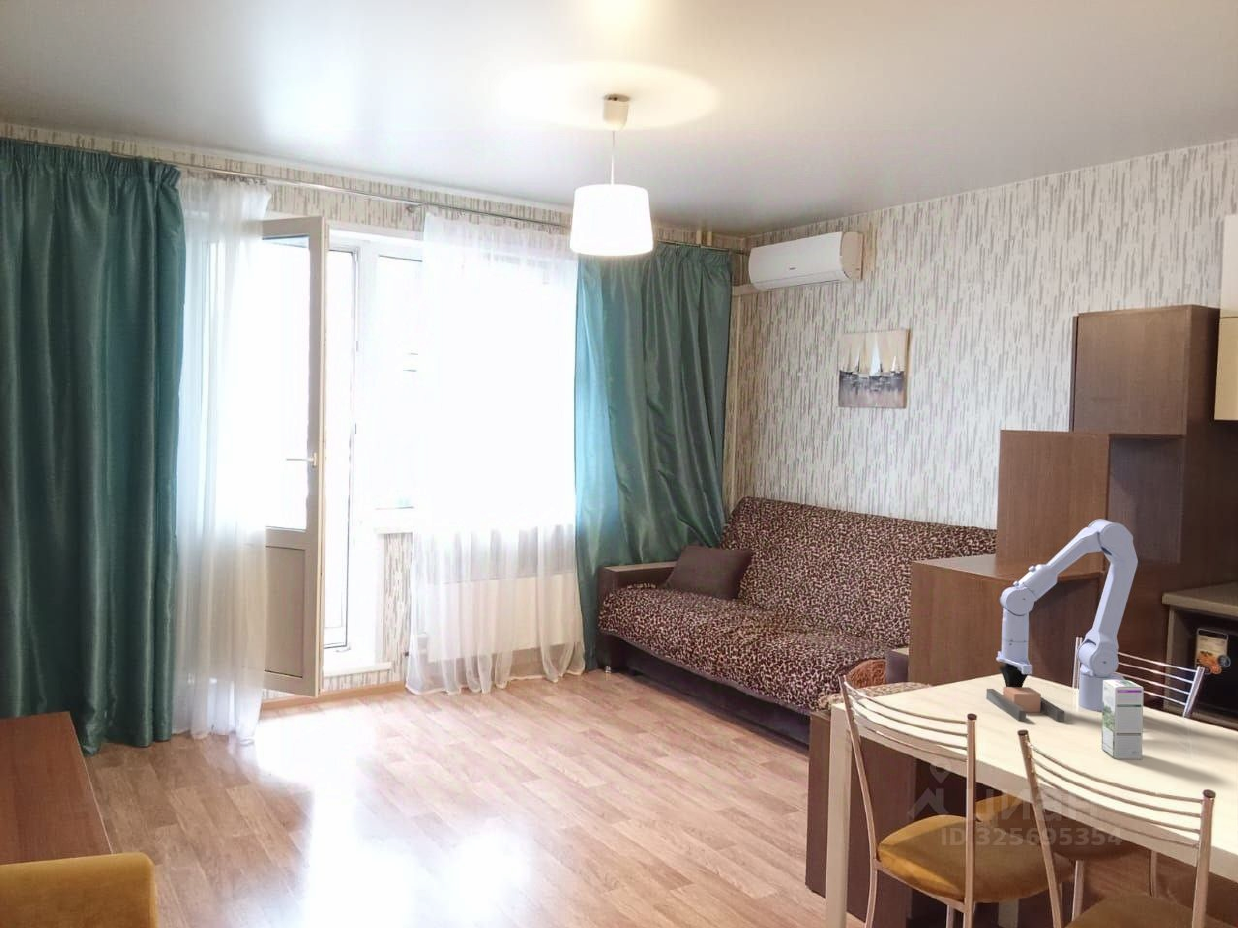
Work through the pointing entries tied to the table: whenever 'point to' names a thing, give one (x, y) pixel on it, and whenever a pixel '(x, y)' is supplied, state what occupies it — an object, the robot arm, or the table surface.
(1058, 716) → the grey parallel rails
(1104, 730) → the syrup box
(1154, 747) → the table surface
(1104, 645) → the robot arm
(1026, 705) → the terracotta block
